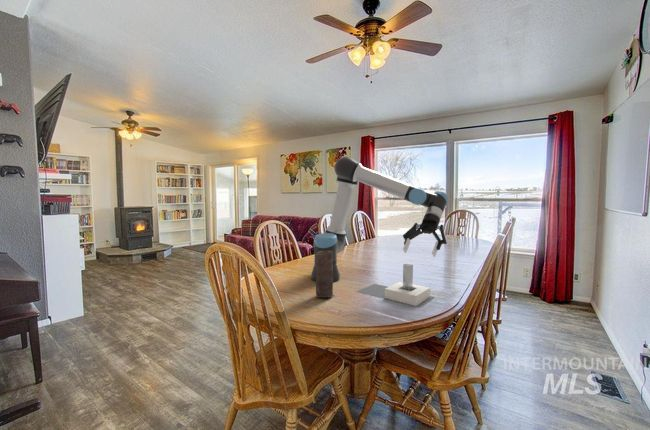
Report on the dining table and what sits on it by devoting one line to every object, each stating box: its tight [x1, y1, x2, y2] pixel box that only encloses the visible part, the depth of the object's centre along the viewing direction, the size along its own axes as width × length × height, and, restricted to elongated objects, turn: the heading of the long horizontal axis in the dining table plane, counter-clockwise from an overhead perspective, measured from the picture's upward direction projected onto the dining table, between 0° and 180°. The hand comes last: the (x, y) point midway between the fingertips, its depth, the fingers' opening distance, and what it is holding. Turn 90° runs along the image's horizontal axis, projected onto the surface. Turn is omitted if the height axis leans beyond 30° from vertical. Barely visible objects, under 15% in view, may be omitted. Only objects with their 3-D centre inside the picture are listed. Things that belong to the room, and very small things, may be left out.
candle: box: [315, 251, 334, 299], centre depth 130 cm, size 8×7×20 cm
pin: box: [402, 263, 414, 291], centre depth 129 cm, size 4×4×14 cm
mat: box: [356, 283, 436, 309], centre depth 133 cm, size 30×16×1 cm, turn 50°
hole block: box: [385, 281, 431, 306], centre depth 129 cm, size 14×14×4 cm
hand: (418, 252), depth 136 cm, fingers open, 13 cm apart
